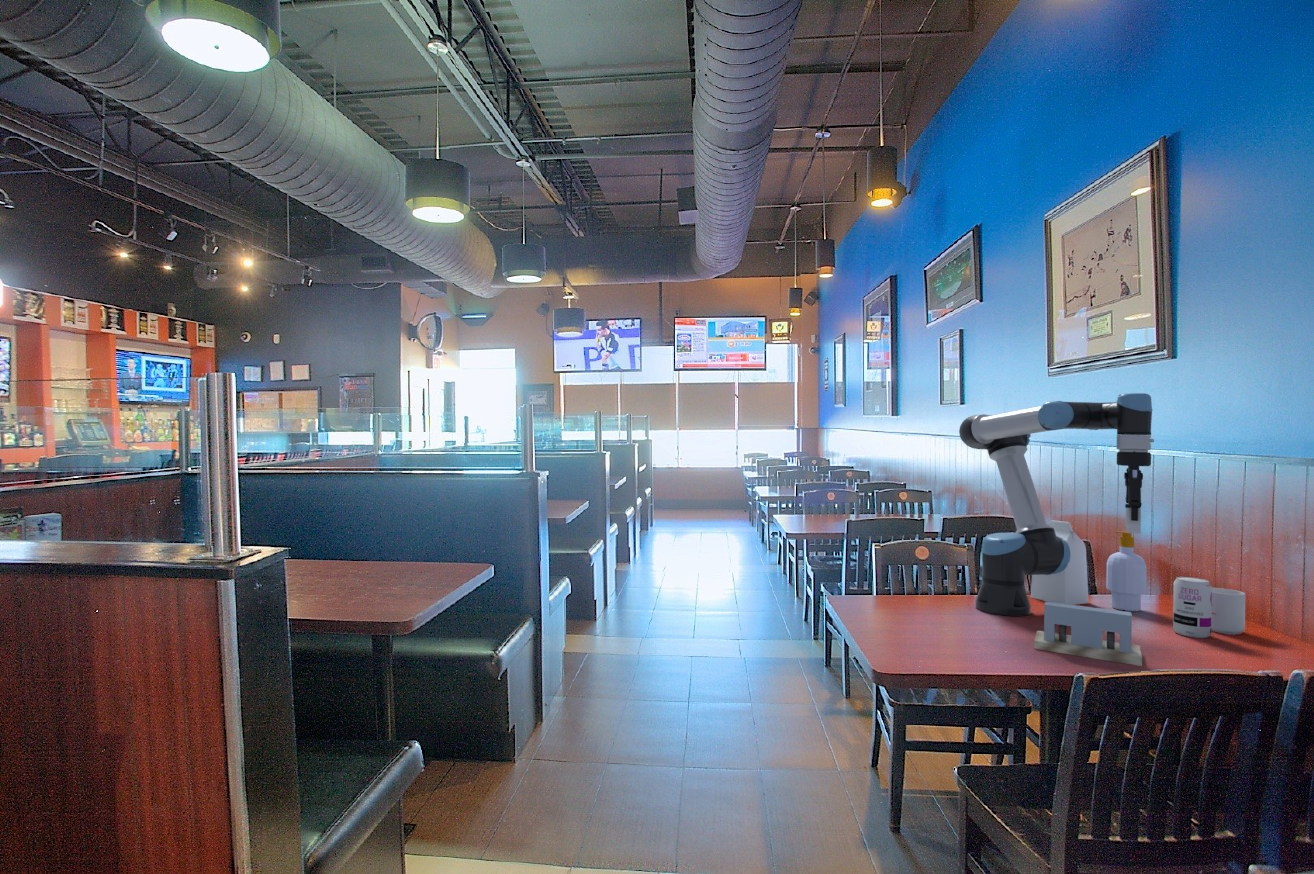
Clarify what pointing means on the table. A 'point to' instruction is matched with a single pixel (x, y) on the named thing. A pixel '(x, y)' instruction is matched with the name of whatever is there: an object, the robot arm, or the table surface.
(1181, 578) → the supplement can
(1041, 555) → the robot arm
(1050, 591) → the milk
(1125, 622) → the notched panel
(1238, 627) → the mug
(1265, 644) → the table surface
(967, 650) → the table surface
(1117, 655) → the pegged base plate
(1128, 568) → the soap bottle
